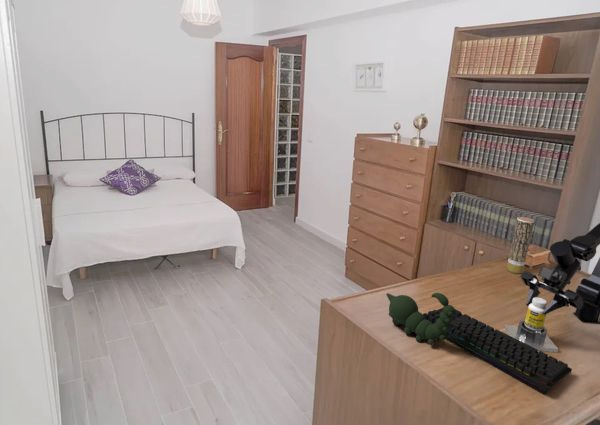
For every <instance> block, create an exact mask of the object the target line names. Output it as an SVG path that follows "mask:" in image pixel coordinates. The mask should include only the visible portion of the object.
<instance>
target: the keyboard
mask: <svg viewBox="0 0 600 425" xmlns="http://www.w3.org/2000/svg"><path fill="white" fill-rule="evenodd" d="M443 308H444V306H443V307H441V308H439V309H433V310H430V311H427V312H424V313H422V314H423V315H424V317H425V319H426V320H428V321H430V322H431V323H432V324H435V323H436V321H437V319H438V318H440V314H441V312H442V311H443ZM456 310H457V313H456V314H454V316H455V317H456V319H455V320H453V321H452V322H451V323H452V324H453V325H454V327H453V328H449V329H448V330H447V332H449V333H450V337H449V338H445V340H446V341H447V342H449V343H451V344H453V346H456V347H458V348H460V349H462V350H463V351H465V352H467V353H469V354H470V355H472V356H474V357H476V358H477V359H479V360H481V361H482V362H484V363H486V364H488V365H490V366H492V367H493V368H495V369H497V370H499V371H501V372H502V373H504V374H506V375H508V376H509V377H511V378H513V379H514V380H516V381H518V382H520V383H522V384H523V385H525V386H527V387H529V388H531V389H533V390H534V391H536V392H538V393H540V394H541V395H545V394H547V393H548V392H549V391H550V390H552V389H553V388H554V387H555V386H556V385H557V384H558V383H560V382H561V381H562V380H563V379H564V378H565V377H567V376H568V375H569V374H570V373H571V372H572V370H573V368H571V367H570V366H568V363H566V362H563V361H562V360H558V358H556V357H554V356H552V355H549V354H547V353H546V352H544V351H538V350H537V349H536V348H534V347H531V346H529V345H527V344H525V343H523V342H521V341H519V340H517V339H515V338H513V337H511V336H509V334H508V333H505V332H502V331H500V330H499V329H495V328H494V327H492V326H491V325H489V324H486V323H484V322H482V321H479V320H478V319H476V318H474V317H471V316H470V315H468V314H466V313H464V314H463V313H462V311H460V310H458V309H456ZM445 340H444V341H445Z"/></svg>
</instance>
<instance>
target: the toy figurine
mask: <svg viewBox="0 0 600 425" xmlns="http://www.w3.org/2000/svg"><path fill="white" fill-rule="evenodd" d="M386 297H387V299H388V301H389V304H388V305H389V307H388V316H389V317H391V319H392V323H393V324H394V325H395V326H401V325H405V327H403V328H404V329H403V331H404V334H406V335H407V336H408V335H410V334H412V333H415V335H416V336H415V340H416V342H422V341H423V340H427V343H428V345H430V346H433V345H435V341H437V342H440V341H445V338H449V337H450V333H449V332H447V330H448V329H449V328H453V327H454V325H453V324H452V323H451V322H452V321H453V320H455V319H456V317H455V316H454V314H456V313H457V310H458V309H457V308H455V307H454V306H453V305H451V304H449V303H450V302H449V299H448V297H447V296H446V295H444V294H443V293H441V292H434V293H432V294H431V296H430V297H431V298H436V299H437V300H438V302H439V303H440V304H441V305H442V306H443V307H444V308H443V307H442V308H443V311H442V312H441V314H440V318H438V319H437V321H436V323H435V324H432V323H431V322H430V321H428V320H426V319H425V317H424V315H423V314H424V313H422V312H420V311H419V306H418V303H417V301H416V300H415V299H414V298H412V297H411V296H409V295H406V294H400V295H397V296H396V295H393V294H392V293H386Z"/></svg>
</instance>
